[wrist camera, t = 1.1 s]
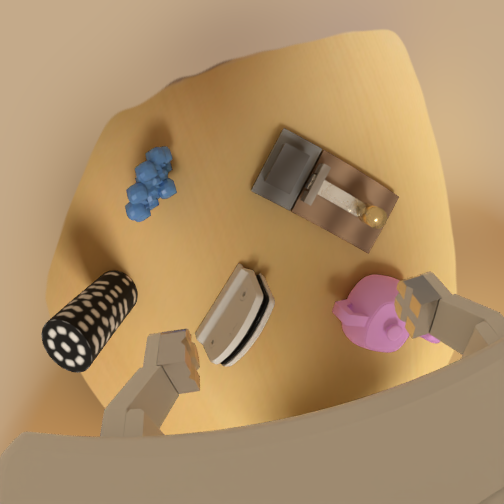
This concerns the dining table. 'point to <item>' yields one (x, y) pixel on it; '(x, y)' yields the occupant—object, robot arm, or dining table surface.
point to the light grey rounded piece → (236, 317)
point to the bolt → (351, 204)
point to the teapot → (374, 315)
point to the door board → (308, 201)
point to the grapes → (150, 184)
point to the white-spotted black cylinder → (89, 321)
